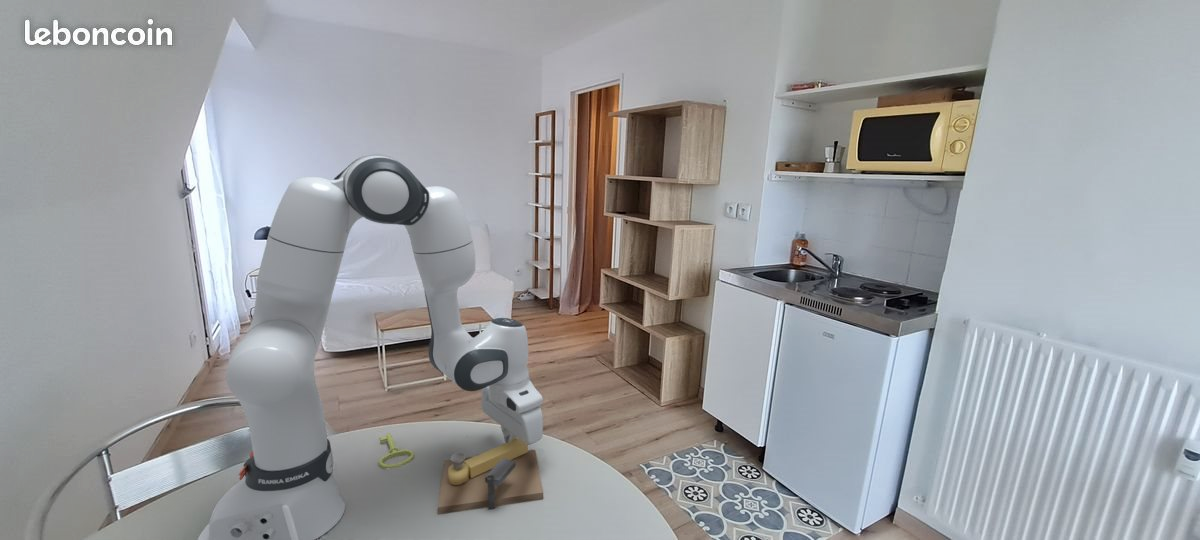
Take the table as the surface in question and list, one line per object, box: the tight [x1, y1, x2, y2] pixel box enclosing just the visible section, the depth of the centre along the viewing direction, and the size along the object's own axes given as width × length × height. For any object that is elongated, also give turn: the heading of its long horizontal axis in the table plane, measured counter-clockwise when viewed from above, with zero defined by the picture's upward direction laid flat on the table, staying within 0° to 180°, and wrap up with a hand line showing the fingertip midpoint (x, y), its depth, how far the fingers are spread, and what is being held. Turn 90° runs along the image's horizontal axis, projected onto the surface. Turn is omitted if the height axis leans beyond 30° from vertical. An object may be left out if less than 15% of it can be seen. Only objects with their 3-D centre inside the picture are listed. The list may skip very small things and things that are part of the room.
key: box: [378, 433, 415, 470], centre depth 108 cm, size 7×12×2 cm, turn 52°
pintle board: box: [437, 449, 544, 515], centre depth 98 cm, size 20×16×7 cm
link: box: [448, 438, 529, 485], centre depth 102 cm, size 18×4×2 cm, turn 132°
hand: (510, 443), depth 108 cm, fingers closed
